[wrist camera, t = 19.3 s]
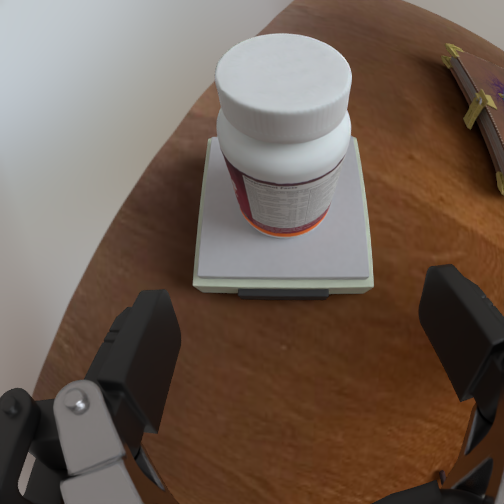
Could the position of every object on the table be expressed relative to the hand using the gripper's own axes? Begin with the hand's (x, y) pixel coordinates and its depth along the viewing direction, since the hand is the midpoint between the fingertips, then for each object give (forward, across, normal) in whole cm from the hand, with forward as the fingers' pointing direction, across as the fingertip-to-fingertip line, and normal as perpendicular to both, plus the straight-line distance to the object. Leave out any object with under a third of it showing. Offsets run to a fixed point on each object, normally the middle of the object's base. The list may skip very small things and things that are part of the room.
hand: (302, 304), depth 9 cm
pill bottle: (+13, 0, +1) cm, 13 cm away
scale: (+15, 0, +3) cm, 15 cm away
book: (+24, -30, -5) cm, 38 cm away
